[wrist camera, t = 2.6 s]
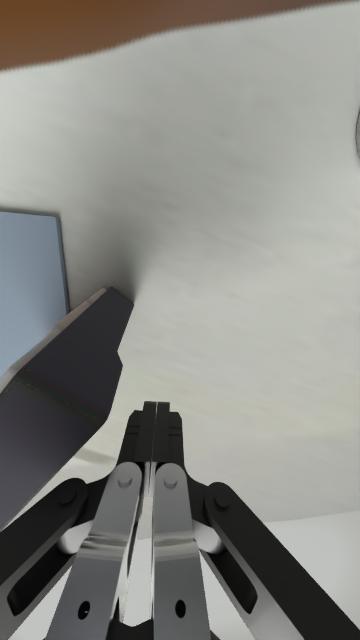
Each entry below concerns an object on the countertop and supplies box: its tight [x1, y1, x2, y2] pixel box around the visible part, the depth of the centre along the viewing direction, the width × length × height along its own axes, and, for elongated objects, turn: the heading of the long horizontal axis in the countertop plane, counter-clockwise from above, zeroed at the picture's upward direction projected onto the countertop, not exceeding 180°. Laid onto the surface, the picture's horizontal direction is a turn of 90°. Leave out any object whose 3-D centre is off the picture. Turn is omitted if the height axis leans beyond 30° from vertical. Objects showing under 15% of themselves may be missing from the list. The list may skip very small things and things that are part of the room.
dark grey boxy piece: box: [0, 287, 134, 532], centre depth 15 cm, size 11×4×15 cm, turn 138°
